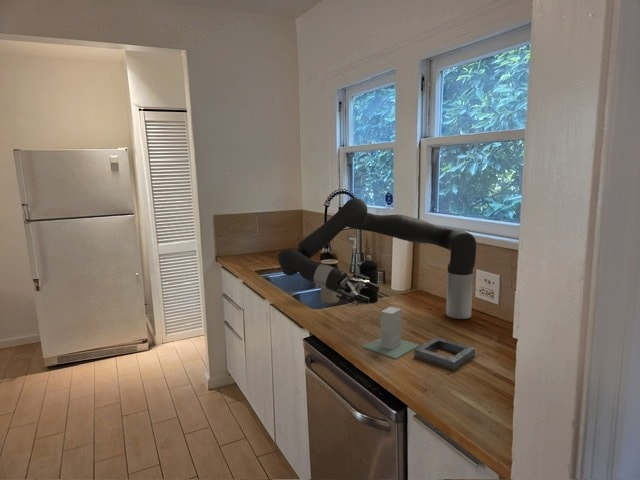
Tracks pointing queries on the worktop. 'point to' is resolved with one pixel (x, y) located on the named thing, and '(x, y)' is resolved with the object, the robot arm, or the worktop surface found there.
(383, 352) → the set down mat
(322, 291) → the travel mug
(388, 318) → the skincare box
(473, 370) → the worktop surface
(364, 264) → the aerosol can
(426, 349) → the block
